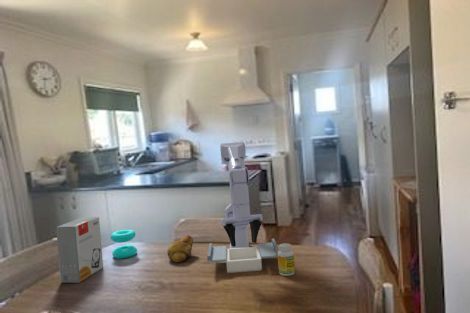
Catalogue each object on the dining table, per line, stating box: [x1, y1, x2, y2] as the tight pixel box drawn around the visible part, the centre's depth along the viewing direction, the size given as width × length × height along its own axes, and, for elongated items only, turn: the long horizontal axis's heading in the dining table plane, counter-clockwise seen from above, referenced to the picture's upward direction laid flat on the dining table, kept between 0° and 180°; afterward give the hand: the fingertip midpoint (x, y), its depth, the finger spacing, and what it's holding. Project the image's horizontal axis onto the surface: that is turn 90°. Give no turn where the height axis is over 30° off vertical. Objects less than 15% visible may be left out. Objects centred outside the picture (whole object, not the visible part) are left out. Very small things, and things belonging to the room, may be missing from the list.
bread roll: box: [166, 234, 194, 263], centre depth 146 cm, size 13×10×8 cm
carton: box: [225, 245, 263, 274], centre depth 135 cm, size 14×12×4 cm
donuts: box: [110, 229, 138, 260], centre depth 155 cm, size 10×10×10 cm
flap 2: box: [257, 238, 280, 259], centre depth 135 cm, size 15×6×2 cm, turn 1°
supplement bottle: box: [277, 242, 296, 277], centre depth 124 cm, size 5×5×10 cm
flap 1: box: [206, 242, 227, 263], centre depth 135 cm, size 15×6×2 cm, turn 1°
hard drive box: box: [55, 216, 104, 284], centre depth 136 cm, size 16×8×20 cm, turn 168°
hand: (244, 244), depth 125 cm, fingers open, 7 cm apart
